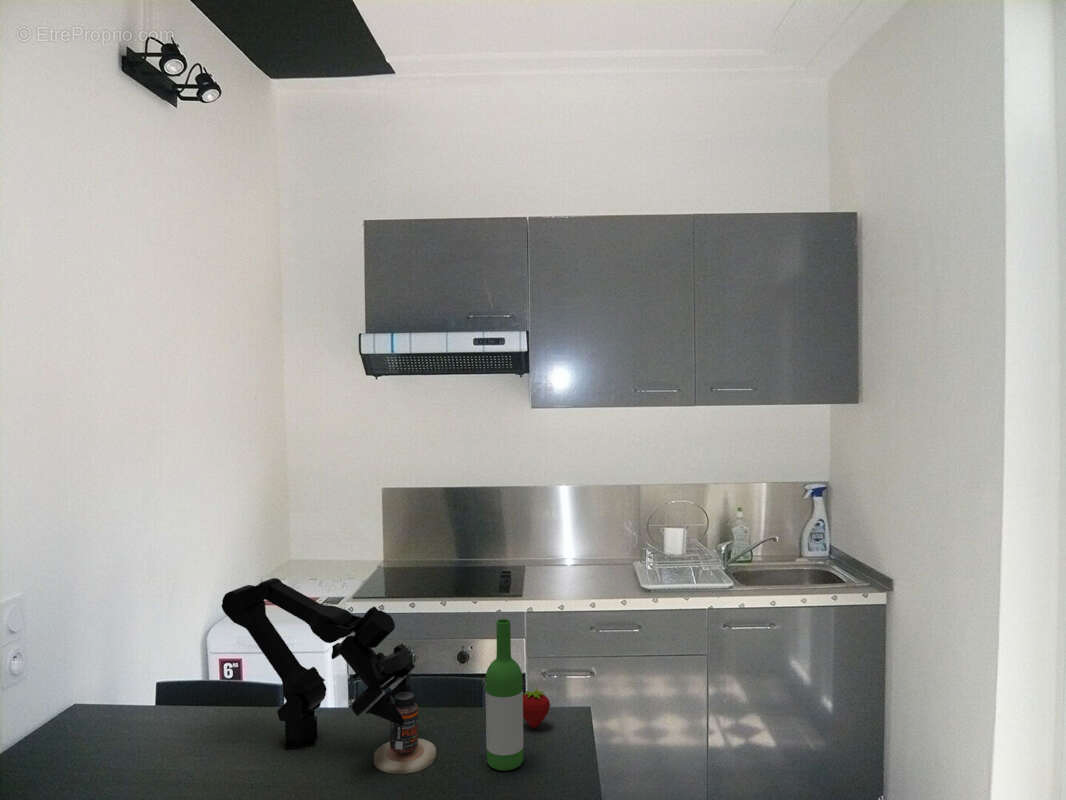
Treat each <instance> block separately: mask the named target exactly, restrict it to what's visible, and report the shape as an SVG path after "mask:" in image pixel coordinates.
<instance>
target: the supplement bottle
mask: <svg viewBox="0 0 1066 800" xmlns="http://www.w3.org/2000/svg"><path fill="white" fill-rule="evenodd" d="M414 700H415V698H414V693H410V692H400V693H398V694H396V695H395V698H394V702H393V705H394V706H395V708H396V709H397V711H398V712H399V713H400V715H401V716H402V718H403V720H404V724H403V725H402V726H400V725H398V724H396V723H393V722H391V721H389V742H390V748H391V750H392V751H393V752H396V753H400V754H403V753H409V752H412V751H414V750H415V749H416V748H417V746H418V738H419V706H418V704H417V703H416V702H415V703H414V702H413V701H414Z"/></svg>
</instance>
